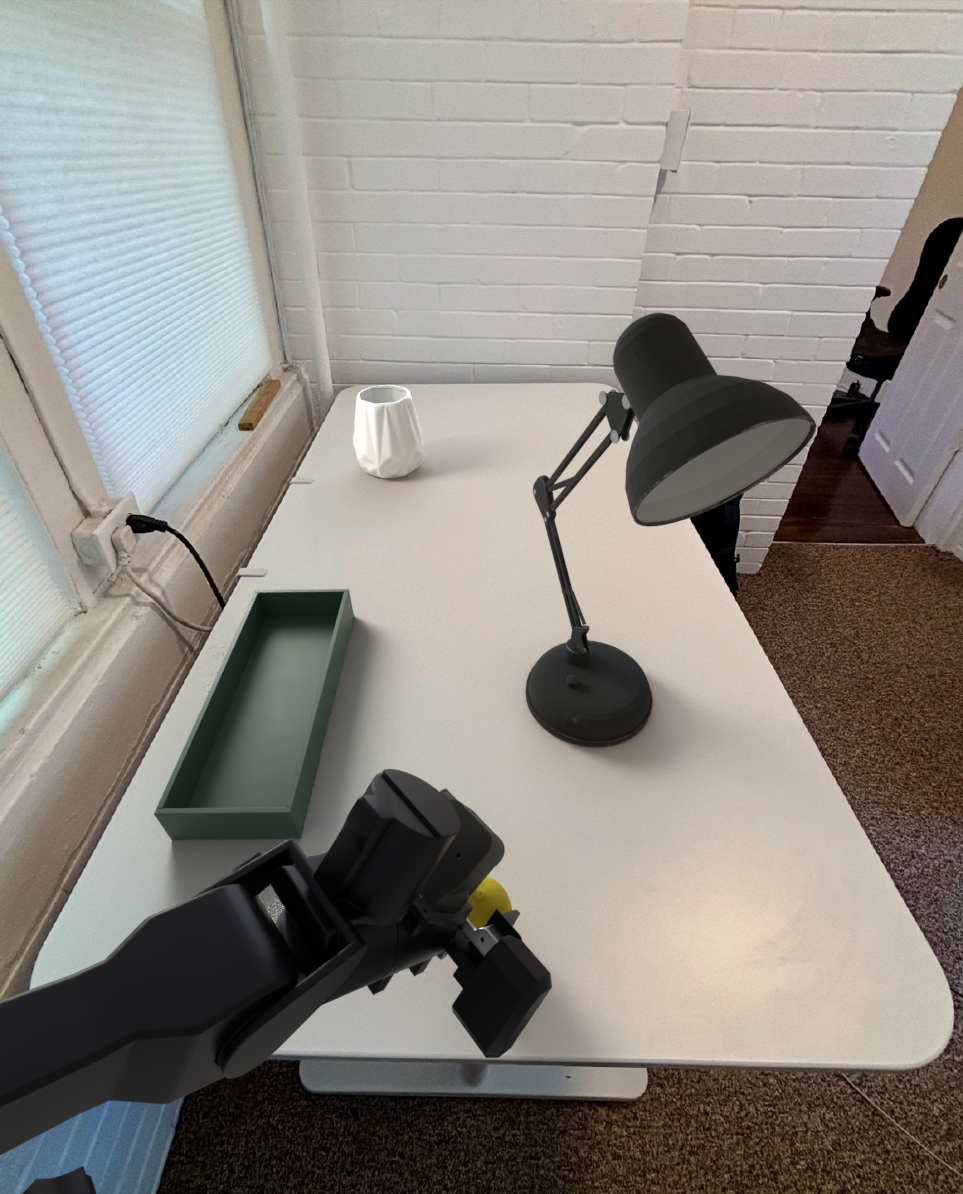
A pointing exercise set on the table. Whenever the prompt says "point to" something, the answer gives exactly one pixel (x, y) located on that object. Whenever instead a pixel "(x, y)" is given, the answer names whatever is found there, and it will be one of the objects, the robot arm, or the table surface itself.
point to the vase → (387, 432)
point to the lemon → (487, 902)
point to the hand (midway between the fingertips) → (492, 889)
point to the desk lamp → (656, 501)
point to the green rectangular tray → (262, 722)
